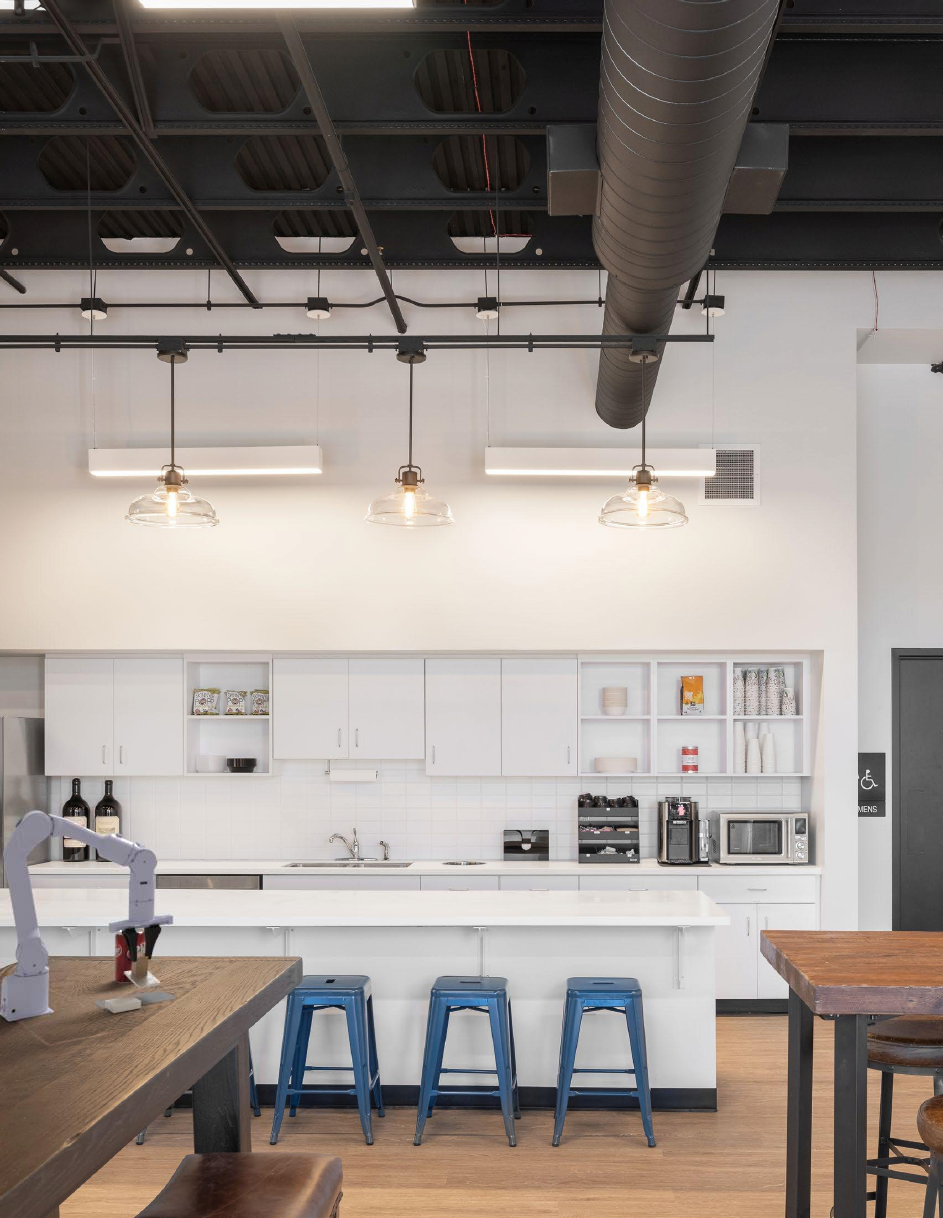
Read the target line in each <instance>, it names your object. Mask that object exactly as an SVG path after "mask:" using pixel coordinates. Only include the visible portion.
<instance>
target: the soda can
mask: <svg viewBox="0 0 943 1218" xmlns="http://www.w3.org/2000/svg"><path fill="white" fill-rule="evenodd" d="M135 930H136V932H138V933H139V935H138V942H137V953H142V952H145V933H144V929H143V928H138V929H135ZM131 970H132V961H131V958H130V953H129V949H128V946H127V944H126V941H125V939H124V937H123V935H122V933H121V931H117V932H116V933H115V935H114V982H115V983H117V984H134V983H133V982H132V981H131V980H130V979H129V978H128V977H127V976H126V975H125V974H124V972H125V971H131Z"/></svg>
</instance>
